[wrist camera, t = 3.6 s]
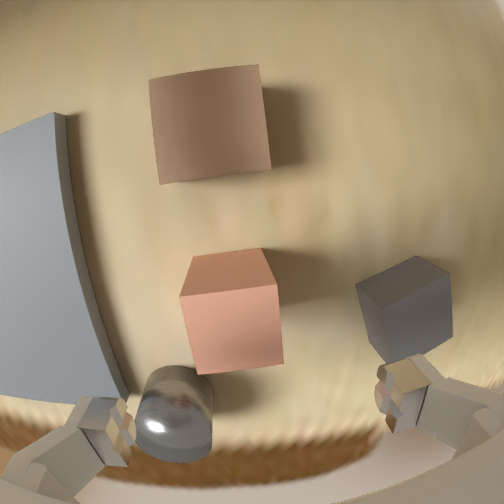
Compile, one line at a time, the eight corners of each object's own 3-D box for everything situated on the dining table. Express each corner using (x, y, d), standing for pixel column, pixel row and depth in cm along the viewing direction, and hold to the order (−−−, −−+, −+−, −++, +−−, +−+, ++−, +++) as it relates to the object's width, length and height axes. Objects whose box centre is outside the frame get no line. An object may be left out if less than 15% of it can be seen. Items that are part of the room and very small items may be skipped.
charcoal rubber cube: (368, 341, 21) (392, 371, 17) (354, 283, 20) (381, 308, 16) (423, 312, 21) (452, 336, 17) (415, 255, 19) (448, 273, 16)
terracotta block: (204, 317, 19) (197, 374, 13) (193, 256, 18) (179, 296, 12) (267, 309, 19) (283, 363, 14) (260, 247, 18) (277, 284, 12)
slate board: (5, 385, 20) (-2, 394, 18) (-57, 171, 14) (-68, 173, 13) (129, 393, 20) (124, 406, 19) (65, 115, 15) (54, 112, 13)
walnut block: (174, 181, 17) (159, 185, 13) (164, 98, 16) (148, 79, 12) (261, 169, 17) (271, 169, 13) (251, 86, 16) (258, 64, 12)
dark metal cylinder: (156, 415, 21) (146, 462, 16) (138, 367, 20) (120, 414, 15) (218, 412, 21) (218, 461, 16) (206, 362, 20) (202, 412, 15)
